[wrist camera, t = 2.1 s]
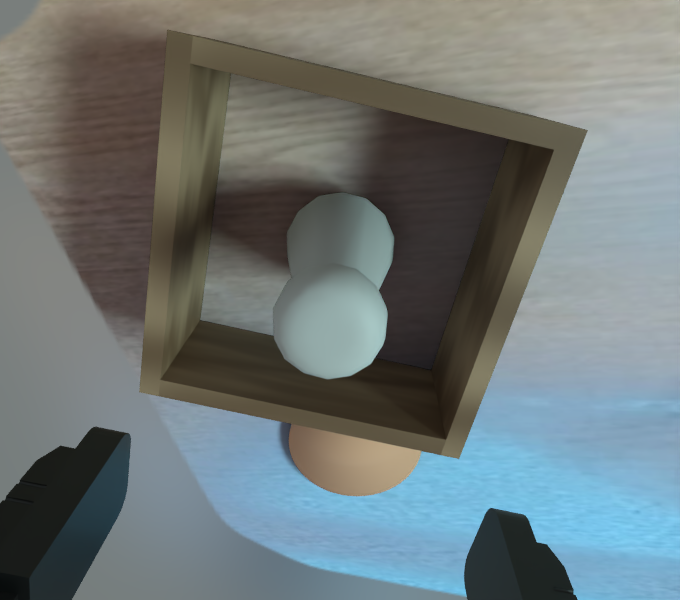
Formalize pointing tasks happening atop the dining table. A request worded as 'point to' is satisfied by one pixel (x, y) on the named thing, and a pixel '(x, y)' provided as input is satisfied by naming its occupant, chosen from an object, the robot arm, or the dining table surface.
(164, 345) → the walnut box
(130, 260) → the dining table surface
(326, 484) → the tan round coaster
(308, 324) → the salt shaker
